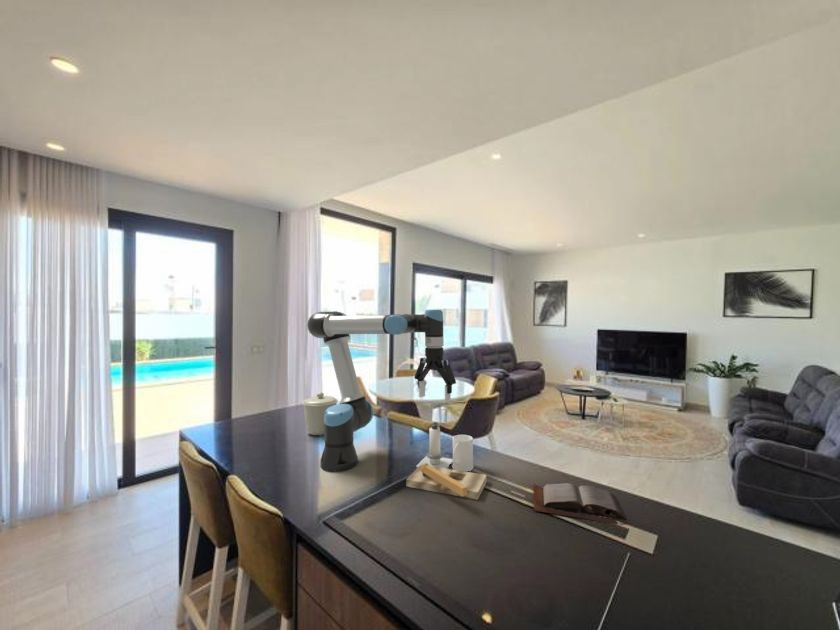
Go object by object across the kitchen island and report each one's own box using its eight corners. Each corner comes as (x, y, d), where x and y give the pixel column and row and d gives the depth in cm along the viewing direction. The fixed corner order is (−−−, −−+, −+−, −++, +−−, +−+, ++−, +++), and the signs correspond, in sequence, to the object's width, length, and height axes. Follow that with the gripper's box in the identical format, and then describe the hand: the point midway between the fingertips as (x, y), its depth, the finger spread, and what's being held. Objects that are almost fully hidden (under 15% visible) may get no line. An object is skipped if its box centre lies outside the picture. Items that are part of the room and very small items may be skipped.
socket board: (406, 486, 132) (406, 475, 132) (421, 470, 145) (420, 461, 145) (477, 499, 122) (477, 488, 122) (486, 481, 135) (486, 471, 135)
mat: (416, 467, 148) (415, 466, 148) (426, 456, 159) (426, 455, 159) (444, 472, 144) (444, 470, 144) (453, 460, 155) (453, 459, 155)
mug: (461, 477, 139) (460, 445, 139) (443, 471, 145) (442, 440, 145) (477, 467, 148) (477, 437, 148) (460, 461, 154) (459, 432, 154)
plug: (424, 464, 150) (424, 426, 150) (430, 458, 156) (429, 421, 156) (440, 466, 147) (439, 428, 147) (445, 460, 153) (444, 423, 153)
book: (635, 529, 106) (635, 514, 106) (533, 512, 114) (533, 498, 115) (619, 500, 125) (619, 487, 125) (533, 487, 133) (533, 475, 134)
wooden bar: (419, 471, 136) (419, 464, 136) (425, 469, 137) (425, 462, 137) (461, 497, 116) (461, 488, 116) (467, 494, 118) (467, 486, 118)
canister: (333, 438, 184) (333, 396, 184) (297, 438, 184) (297, 396, 184) (341, 427, 202) (341, 388, 202) (308, 427, 202) (308, 388, 202)
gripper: (406, 346, 157) (406, 395, 157) (453, 349, 140) (453, 405, 140) (418, 344, 162) (418, 393, 162) (464, 348, 145) (464, 401, 146)
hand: (434, 398), depth 151 cm, fingers open, 13 cm apart
